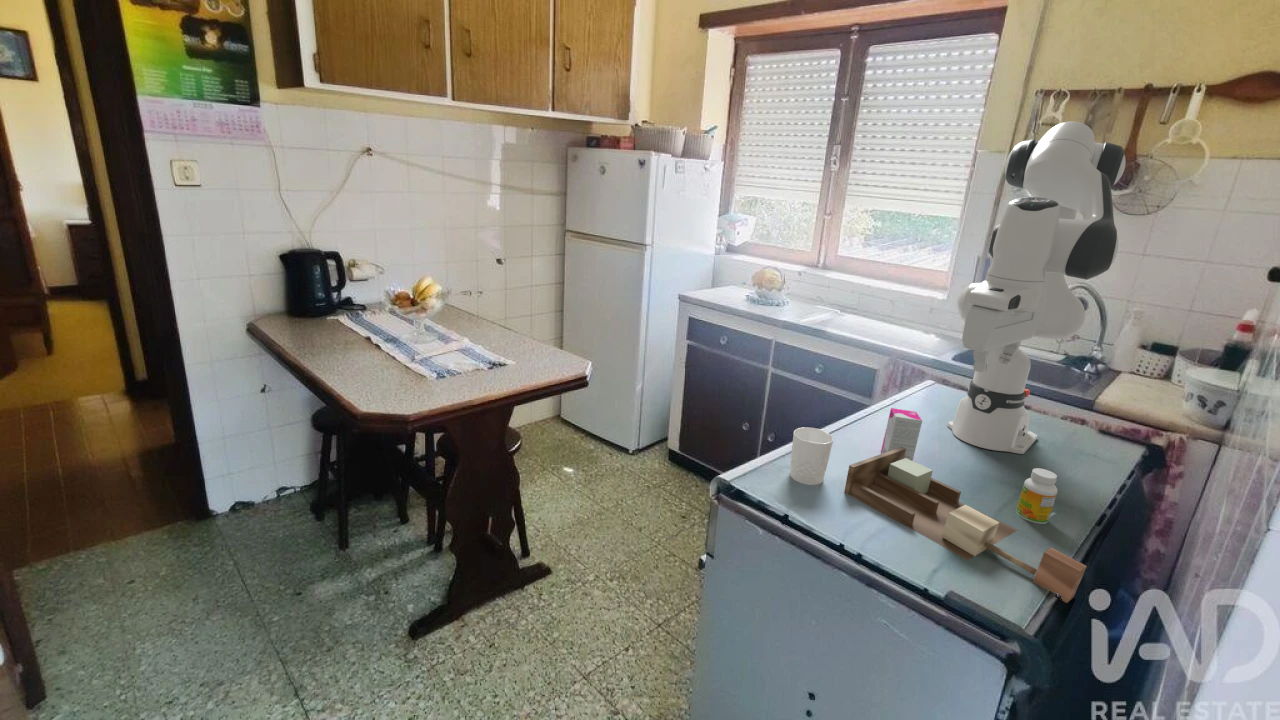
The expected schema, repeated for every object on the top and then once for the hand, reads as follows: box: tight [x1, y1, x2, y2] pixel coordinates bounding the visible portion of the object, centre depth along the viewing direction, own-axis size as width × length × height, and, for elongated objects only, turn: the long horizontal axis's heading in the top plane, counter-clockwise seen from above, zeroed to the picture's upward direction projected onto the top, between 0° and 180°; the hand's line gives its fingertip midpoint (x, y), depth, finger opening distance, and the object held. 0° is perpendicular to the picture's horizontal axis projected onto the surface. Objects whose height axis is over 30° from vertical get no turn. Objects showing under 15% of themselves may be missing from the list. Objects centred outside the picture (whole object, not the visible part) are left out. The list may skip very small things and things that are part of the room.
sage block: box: [888, 458, 934, 494], centre depth 121 cm, size 6×6×5 cm
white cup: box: [789, 426, 834, 486], centre depth 123 cm, size 8×8×10 cm
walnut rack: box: [843, 447, 1018, 561], centre depth 114 cm, size 18×25×6 cm
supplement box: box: [880, 407, 923, 461], centre depth 134 cm, size 6×6×12 cm
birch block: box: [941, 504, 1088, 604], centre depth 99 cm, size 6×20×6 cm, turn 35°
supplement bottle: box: [1015, 467, 1058, 525], centre depth 114 cm, size 5×5×10 cm
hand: (992, 366), depth 109 cm, fingers open, 8 cm apart
